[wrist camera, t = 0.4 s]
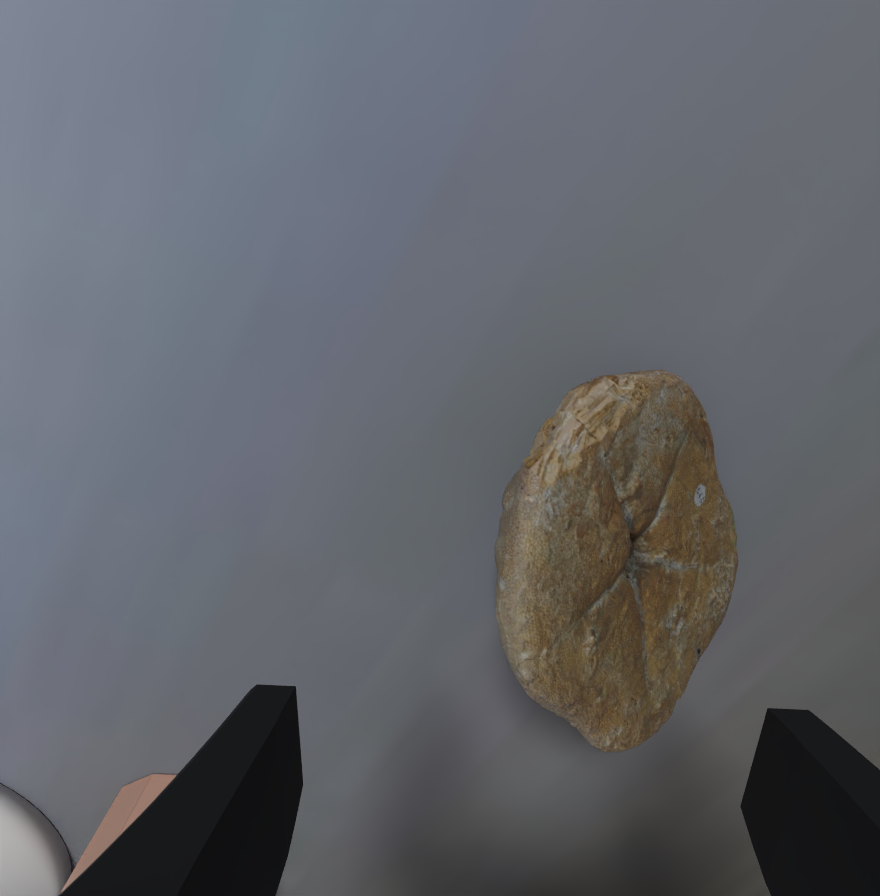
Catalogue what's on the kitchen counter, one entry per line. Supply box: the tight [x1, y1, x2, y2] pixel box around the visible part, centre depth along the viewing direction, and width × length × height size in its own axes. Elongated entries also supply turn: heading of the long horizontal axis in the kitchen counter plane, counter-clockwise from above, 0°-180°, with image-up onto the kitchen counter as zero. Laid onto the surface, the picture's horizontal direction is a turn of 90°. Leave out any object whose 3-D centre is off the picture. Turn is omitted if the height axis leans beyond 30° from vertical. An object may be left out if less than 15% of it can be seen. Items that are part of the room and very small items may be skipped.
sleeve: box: [60, 774, 177, 894], centre depth 23 cm, size 6×6×4 cm
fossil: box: [495, 370, 738, 752], centre depth 17 cm, size 9×4×10 cm
